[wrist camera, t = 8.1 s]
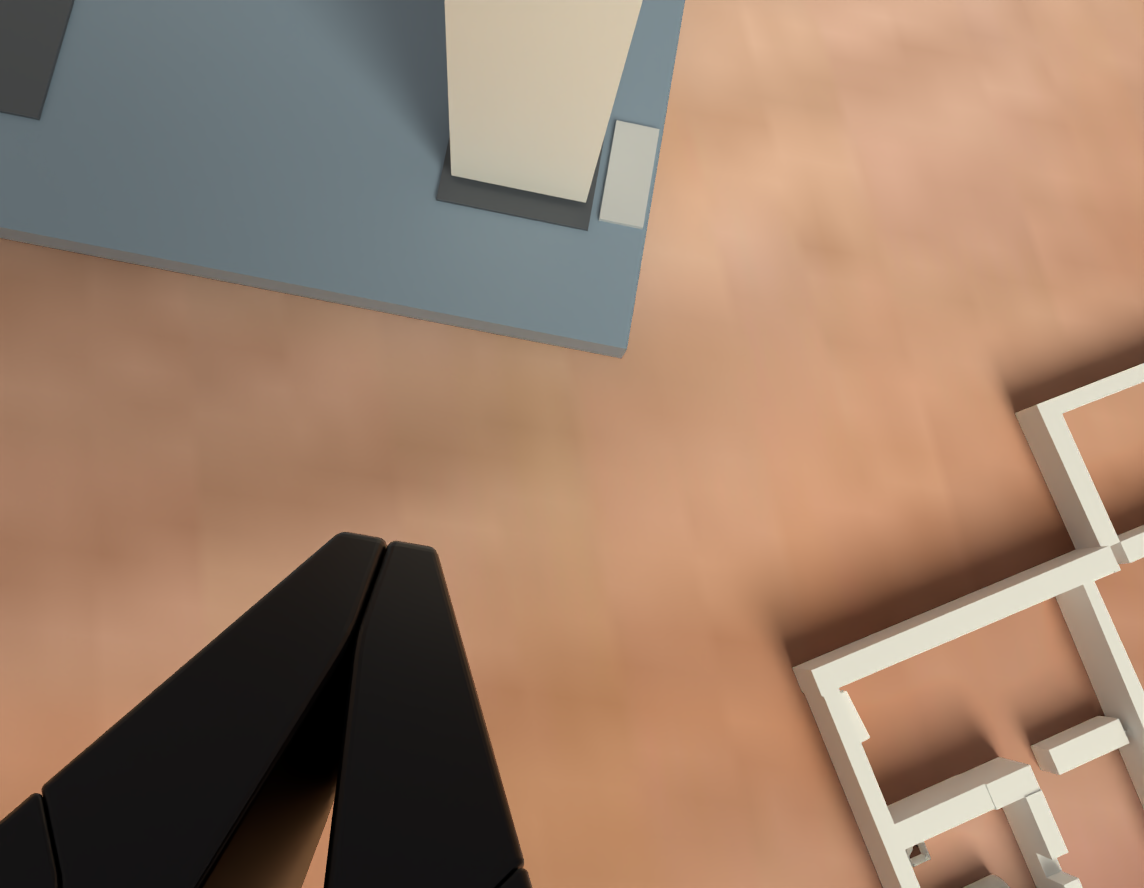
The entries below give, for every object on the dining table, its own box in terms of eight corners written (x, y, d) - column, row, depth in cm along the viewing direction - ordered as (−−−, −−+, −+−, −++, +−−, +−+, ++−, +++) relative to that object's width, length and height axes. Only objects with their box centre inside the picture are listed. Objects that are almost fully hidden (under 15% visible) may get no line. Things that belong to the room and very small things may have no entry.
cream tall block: (585, 202, 22) (662, -69, 14) (451, 175, 22) (439, -119, 13) (600, 120, 23) (685, -197, 14) (468, 92, 23) (468, -248, 14)
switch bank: (621, 358, 23) (631, 340, 22) (-199, 199, 22) (-247, 169, 20) (698, -102, 25) (712, -147, 24) (-42, -270, 24) (-75, -328, 23)
